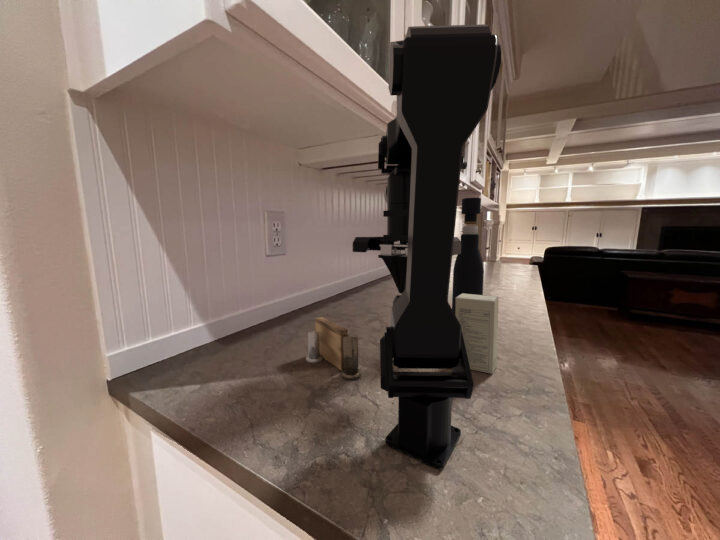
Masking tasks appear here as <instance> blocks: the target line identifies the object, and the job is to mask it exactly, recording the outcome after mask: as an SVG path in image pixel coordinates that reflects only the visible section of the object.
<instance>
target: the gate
mask: <svg viewBox="0 0 720 540" xmlns="http://www.w3.org/2000/svg"><path fill="white" fill-rule="evenodd" d="M314 322H315V323H314V325H315V331H317V332H319V340H320V354H321V355H322V356H323V360H324V359H325V361H328V362H329V363H330V364H332V365H333V366H334V367H335V368H337V369H338V370H340V371H342V370H343V369H344V359H343V336H344V335H347V334H349V332H348V331H349V330H348V329H347V328H346V327H344V326H342V325H339V324H337V323H335V322H333V321H331V320H330V319H327V318H325V317H323V316H320V317H315V319H314Z"/></svg>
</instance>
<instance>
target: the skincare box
mask: <svg viewBox="0 0 720 540" xmlns="http://www.w3.org/2000/svg"><path fill="white" fill-rule="evenodd" d="M499 300H500V299H499V296H498V295H497V296H496V295H486V294H483V295H475V294H464V293H462V294H461V295H459V296H457V297H456V305H455V306H456V309H455V316H456V317H457V319H458V321H459V323H460V325H461V331H462V334H463V338H464V343H465V347H466V352H467V356H468V361H469V365H470V370H473V371H477V372H482V373H487V374H491V375H493V374H494V371H495V369H496V368H497V362H498V335H499V333H498V329H499V326H498V325H499Z"/></svg>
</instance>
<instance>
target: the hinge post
mask: <svg viewBox="0 0 720 540" xmlns="http://www.w3.org/2000/svg"><path fill="white" fill-rule="evenodd" d="M343 359H344V369H343V370H340V375H341V379H343V380H345V381H355V380H359V379H360V378H361V377H362V370H361V369H360V368H359V336H358V334H353V333H348V334H347V335H344V336H343Z"/></svg>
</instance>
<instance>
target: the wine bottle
mask: <svg viewBox="0 0 720 540" xmlns="http://www.w3.org/2000/svg"><path fill="white" fill-rule="evenodd" d="M481 205H482V198H481V197H466V198H465V197H464V198H462V199H461V215H464V221H463V223H464V225H462V227H461V228H462V231H461V233H462V234H461V235H460V241H461V254H457V255H456V258H455V262H454V265H453V270H452V271H453V272H452V276H453V277H452V294H451V296H452V297H451V298H452V299H451V308H452V310H453V312H454V314H455V309H456V306H455V305H456V297H457V296H459V295H461V294H462V293H464V294H475V295H484V277H485V275H484V274H485V268H484V263H483V262H484V261H483V257H482V254H481V252H480V246H479V245H480V235H479V234H478V233H479V230H478V229H479V227H478V225H474V224H477V223H478V222H477V220H478V216H477V215H479V214H481V210H482V209H481V208H482V206H481ZM471 224H472V225H471Z"/></svg>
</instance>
